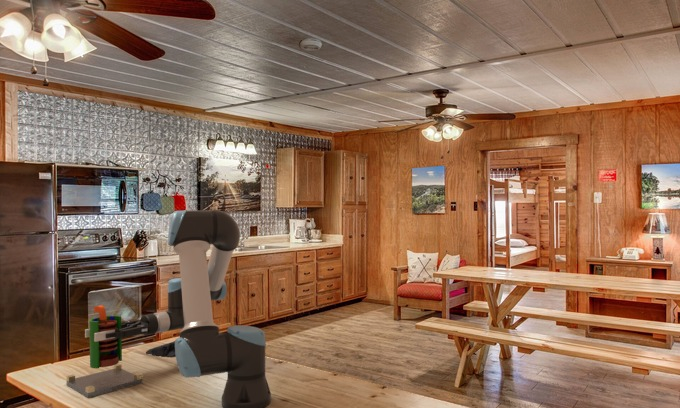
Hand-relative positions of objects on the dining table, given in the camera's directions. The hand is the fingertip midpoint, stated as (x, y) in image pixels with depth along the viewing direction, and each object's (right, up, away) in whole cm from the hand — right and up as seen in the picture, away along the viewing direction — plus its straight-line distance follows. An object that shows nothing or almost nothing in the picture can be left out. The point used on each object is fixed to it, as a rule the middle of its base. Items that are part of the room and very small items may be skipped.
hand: (90, 335), depth 164 cm
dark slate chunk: (+13, -19, +46) cm, 51 cm away
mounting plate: (+3, -18, +3) cm, 18 cm away
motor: (+3, -11, +4) cm, 12 cm away
